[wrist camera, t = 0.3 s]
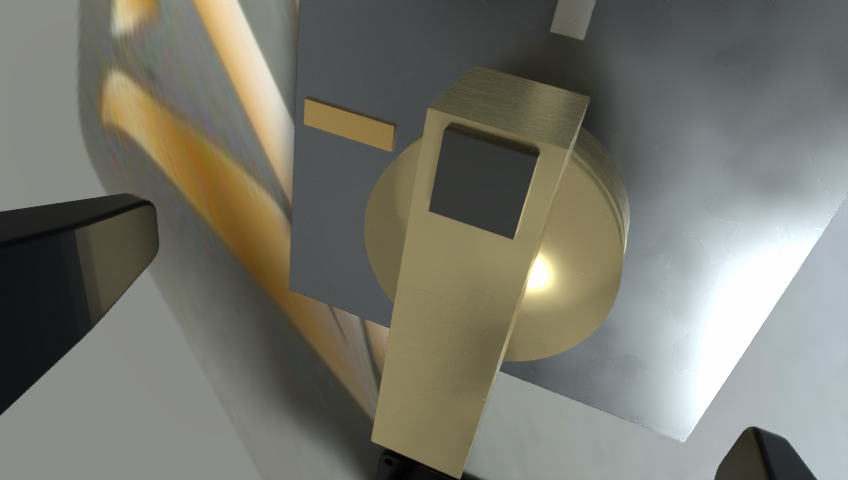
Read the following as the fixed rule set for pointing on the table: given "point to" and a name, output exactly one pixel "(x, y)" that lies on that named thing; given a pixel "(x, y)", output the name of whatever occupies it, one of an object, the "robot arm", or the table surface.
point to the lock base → (628, 147)
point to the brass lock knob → (488, 253)
